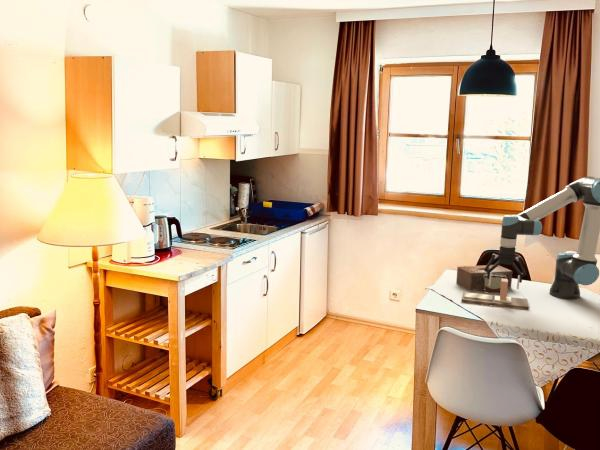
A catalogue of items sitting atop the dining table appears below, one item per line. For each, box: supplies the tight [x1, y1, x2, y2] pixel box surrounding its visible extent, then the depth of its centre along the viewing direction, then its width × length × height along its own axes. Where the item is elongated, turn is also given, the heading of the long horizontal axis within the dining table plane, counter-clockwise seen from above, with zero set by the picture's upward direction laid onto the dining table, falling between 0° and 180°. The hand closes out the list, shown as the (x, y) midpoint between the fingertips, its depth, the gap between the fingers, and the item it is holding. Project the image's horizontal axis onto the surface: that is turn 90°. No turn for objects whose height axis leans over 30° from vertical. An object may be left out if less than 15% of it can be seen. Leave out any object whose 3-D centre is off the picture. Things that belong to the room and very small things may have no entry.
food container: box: [483, 272, 507, 294], centre depth 326 cm, size 12×6×10 cm, turn 84°
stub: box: [495, 278, 512, 303], centre depth 305 cm, size 8×8×10 cm
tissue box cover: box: [455, 264, 513, 291], centre depth 337 cm, size 26×14×10 cm, turn 105°
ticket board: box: [461, 291, 530, 311], centre depth 307 cm, size 32×14×2 cm, turn 72°
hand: (503, 287), depth 305 cm, fingers open, 13 cm apart
